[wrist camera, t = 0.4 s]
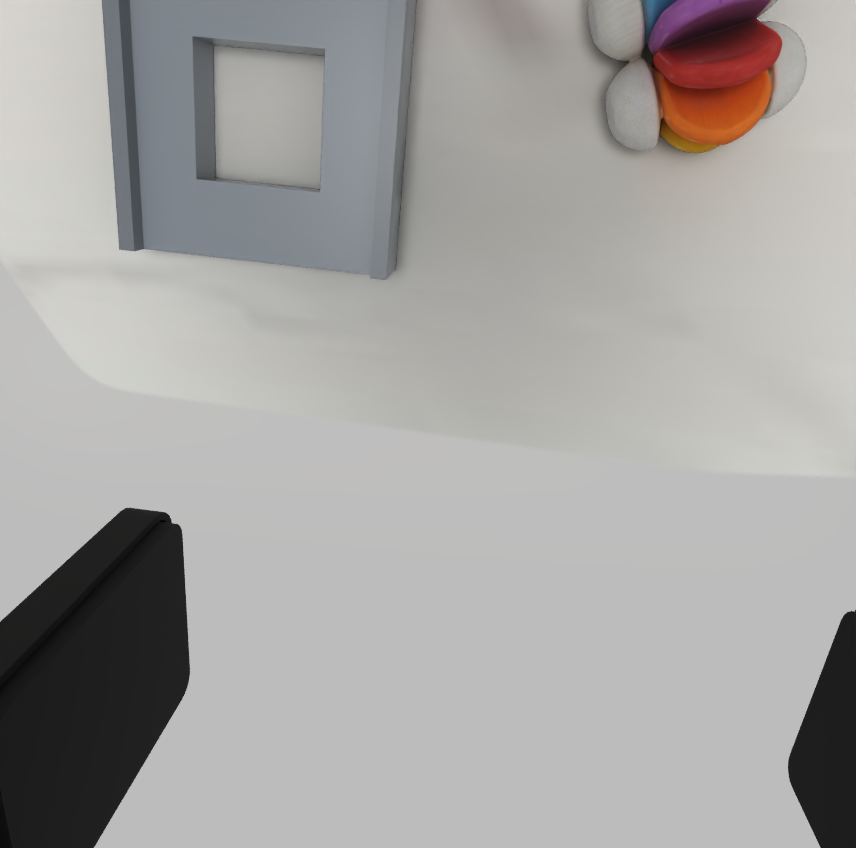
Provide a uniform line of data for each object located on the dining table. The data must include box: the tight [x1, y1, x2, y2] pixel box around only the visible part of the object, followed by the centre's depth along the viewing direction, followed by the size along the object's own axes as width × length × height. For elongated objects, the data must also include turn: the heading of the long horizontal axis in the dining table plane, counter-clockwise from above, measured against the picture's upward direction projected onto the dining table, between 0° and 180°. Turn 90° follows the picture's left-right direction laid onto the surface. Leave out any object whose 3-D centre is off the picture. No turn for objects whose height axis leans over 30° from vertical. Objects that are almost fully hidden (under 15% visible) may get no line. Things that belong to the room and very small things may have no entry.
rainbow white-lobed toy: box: [588, 0, 806, 153], centre depth 29 cm, size 8×10×7 cm
